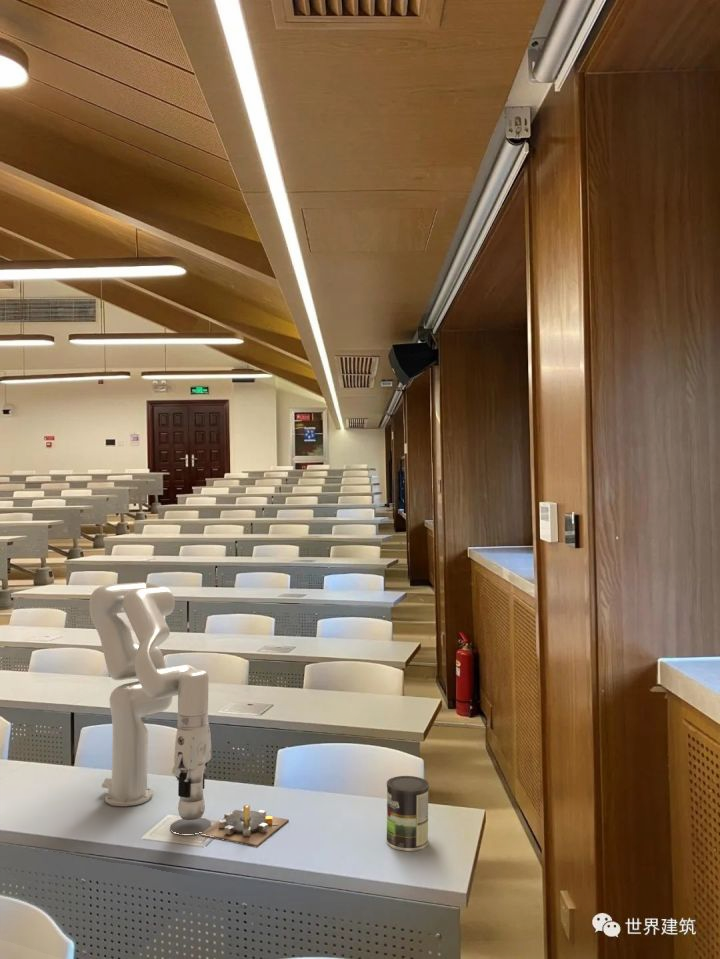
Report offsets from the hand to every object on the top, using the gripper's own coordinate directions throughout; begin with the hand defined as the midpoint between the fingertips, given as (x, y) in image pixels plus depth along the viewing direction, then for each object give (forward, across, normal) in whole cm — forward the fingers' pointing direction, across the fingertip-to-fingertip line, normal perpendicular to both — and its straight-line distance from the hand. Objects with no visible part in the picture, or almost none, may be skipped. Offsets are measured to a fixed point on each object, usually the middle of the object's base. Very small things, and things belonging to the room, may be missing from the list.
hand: (191, 791), depth 187 cm
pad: (+9, 0, 0) cm, 9 cm away
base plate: (+9, +5, -13) cm, 16 cm away
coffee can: (+9, +14, -53) cm, 56 cm away
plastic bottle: (+7, 0, 0) cm, 7 cm away
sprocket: (+9, +5, -13) cm, 16 cm away
